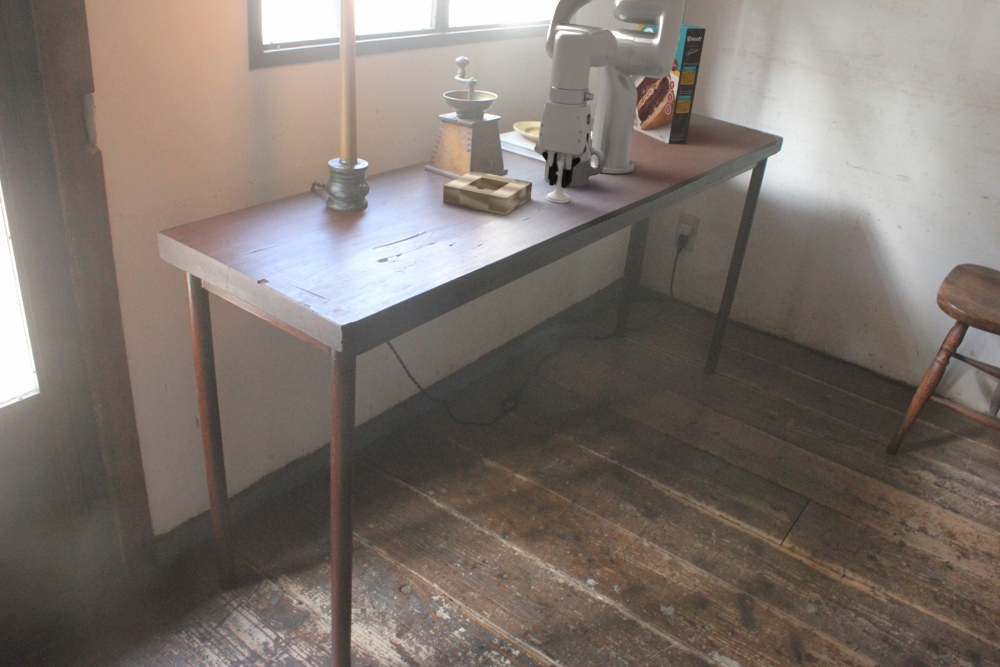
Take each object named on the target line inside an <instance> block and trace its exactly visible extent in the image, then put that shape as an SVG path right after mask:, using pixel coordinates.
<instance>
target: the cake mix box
mask: <svg viewBox="0 0 1000 667" xmlns="http://www.w3.org/2000/svg"><path fill="white" fill-rule="evenodd" d="M637 30H639V31H644V32H652V33H657V32H658V29H657V27H656V26H649V25H641V24H638V28H637ZM705 34H706V28H705V27H700V26H696V25H693V24H687V23H683V22H682V25H681V30H680V35H679V40H678V45H677V50H676V55H675V59H674V63H673V67H672V69H671V71H670V73H669V74H668V75H667V76H666V77H664V78H650V77H643V76H636V75H631V78H632V80H633V82H634V84H635V86H636V89H637V96H638V97H637V105H636V112H635V119H634V127H633V130H635V131H638V132H640V133H643V134H645V135H647V136H649V137H652V138H654V139H656V140H659V141H660V142H663V143H665V144H668V145H671V144H686V143H687V141H688V134H689V129H690V124H691V123H690V122H691V116H692V110H693V104H694V99H695V95H696V94H695V93H696V86H697V81H698V75H699V70H700V69H699V68H700V63H701V59H702V58H701V57H702V53H703V47H704V40H705V36H706V35H705Z"/></svg>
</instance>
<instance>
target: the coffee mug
mask: <svg viewBox="0 0 1000 667" xmlns="http://www.w3.org/2000/svg"><path fill="white" fill-rule="evenodd" d="M589 150H590V153H591V157H592V155H596V156H597V157H598V166H597V168H596V169H594V168H592V166H591V159H590V160H588V161H585V162H581V163H578V164H577V165H576V166H575V167H573V174H572V182H571V184H569V186H567V187H569V188H570V187H571V188H573V187H583V186H585V185H587V184H588V182H589V178H590V177H592V176H593V177H594V176H596V175H599V174H601V173H602V172H601V171H602V169H603V167H604V162H605V158H604V154H603V152H602V151H601V150H599V149H597V148H593V147H592V136H591V140H590V148H589ZM560 155H561V153H558V159H557V161H559V160H561V157H560ZM582 155H583V154H582ZM582 155H579V156H582ZM564 156H565V159H563V160H564V161H566V157H567V154H564ZM576 157H578V156H576ZM564 169H565V168H564ZM548 173H549V166H548V165H547V162H546V161H545V165H544V175H543V176H544V178H543V179H544V181H545V182H546V183H549V182H550V180H548ZM553 186H556V184H554V185H553Z"/></svg>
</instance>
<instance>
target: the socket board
mask: <svg viewBox="0 0 1000 667" xmlns="http://www.w3.org/2000/svg"><path fill="white" fill-rule="evenodd" d="M532 190H533V182H532V181H528V180H524V179H523V180H522V179H516V178H512V177H507V176H502V175H497V174H492V173H486V172H482V171H481V172H480V171H477V170H476V171H475V170H471V171H469V172H467V173H465V174H463V175H461V176H459V177H457V178H455V179H453V180H451V181H449V182H447V183H445V184H444V185H443V195H442V198H443V200H442V202H443V203H446V204H451V205H455V206H461V207H464V208H470V209H473V210H474V209H475V210H479V211H483V212H488V213H493V214H499V215H501V216H502V215H503V216H506V215H507V214H509V213H511V212H512V211H514V210H515V209H517V208H519V207H520V206H522V205H523V204H524V203H526V202H528V201H529V200H530V199H531V198H532Z"/></svg>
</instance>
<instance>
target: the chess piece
mask: <svg viewBox="0 0 1000 667" xmlns="http://www.w3.org/2000/svg"><path fill="white" fill-rule="evenodd" d="M560 157H561V160H559V161H557V165H558V170H559V171H557V172H556V174H557V175H558V179H557V183H556V185H555V188H554V190H553V191H551V192H549V193H547V194H546V197H545V198H546V200H547V201H549V202H553V203H556V204H563V203H569V202H570V195H569V194H567V193H565V191H564V188H562V187H561V183H562V173H563V169H564V168H565V166H566V161H564V160H563V159H565V156H564V154H562V153H561V155H560Z"/></svg>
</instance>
